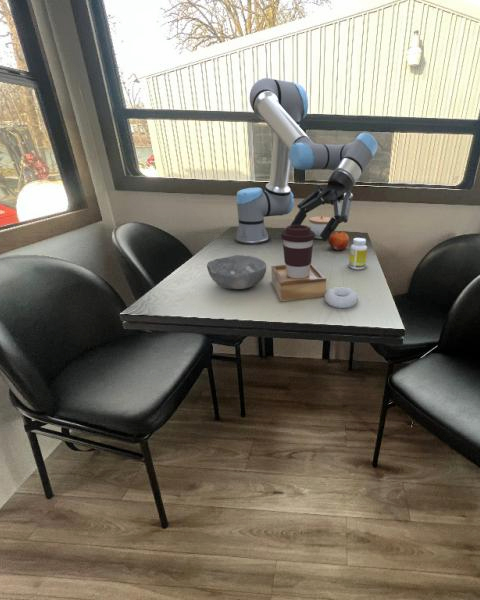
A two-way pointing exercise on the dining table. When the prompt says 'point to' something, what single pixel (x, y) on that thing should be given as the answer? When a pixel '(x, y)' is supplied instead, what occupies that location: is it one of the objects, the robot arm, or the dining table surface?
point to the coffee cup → (297, 250)
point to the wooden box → (298, 284)
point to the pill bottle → (358, 253)
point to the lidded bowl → (318, 225)
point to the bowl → (237, 271)
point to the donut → (341, 297)
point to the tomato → (338, 240)
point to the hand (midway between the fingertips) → (307, 233)
